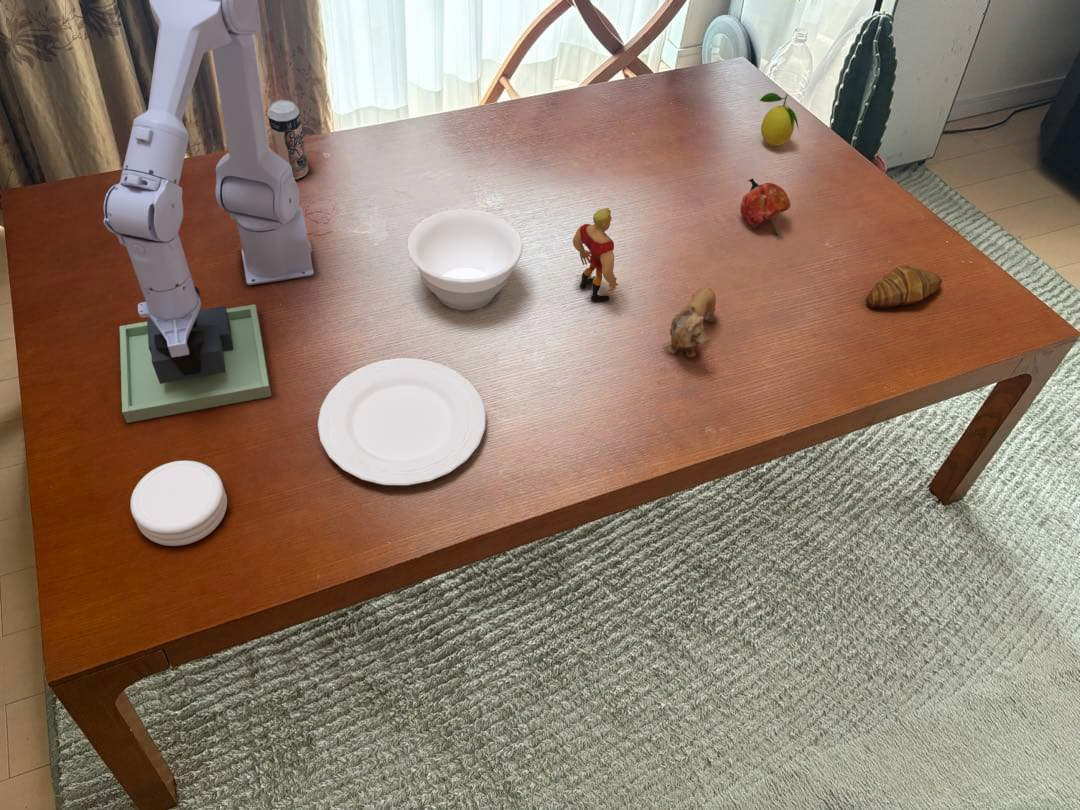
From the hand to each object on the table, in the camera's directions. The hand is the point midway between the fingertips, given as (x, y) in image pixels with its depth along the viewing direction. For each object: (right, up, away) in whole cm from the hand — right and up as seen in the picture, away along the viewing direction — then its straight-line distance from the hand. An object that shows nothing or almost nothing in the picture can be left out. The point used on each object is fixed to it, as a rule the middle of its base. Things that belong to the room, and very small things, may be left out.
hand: (190, 356), depth 117 cm
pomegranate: (+80, +23, +31) cm, 89 cm away
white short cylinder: (+3, -19, -11) cm, 22 cm away
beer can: (+4, +31, +33) cm, 46 cm away
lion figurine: (+66, +3, +12) cm, 67 cm away
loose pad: (0, -1, +1) cm, 1 cm away
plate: (+27, -9, -1) cm, 29 cm away
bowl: (+34, +10, +17) cm, 39 cm away
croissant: (+99, +10, +21) cm, 101 cm away
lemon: (+85, +40, +46) cm, 105 cm away
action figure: (+52, +10, +18) cm, 56 cm away
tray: (-1, -1, +4) cm, 4 cm away
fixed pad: (-2, +2, +6) cm, 7 cm away
